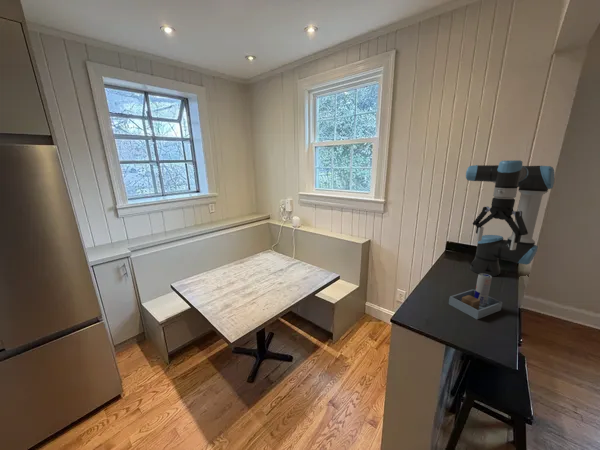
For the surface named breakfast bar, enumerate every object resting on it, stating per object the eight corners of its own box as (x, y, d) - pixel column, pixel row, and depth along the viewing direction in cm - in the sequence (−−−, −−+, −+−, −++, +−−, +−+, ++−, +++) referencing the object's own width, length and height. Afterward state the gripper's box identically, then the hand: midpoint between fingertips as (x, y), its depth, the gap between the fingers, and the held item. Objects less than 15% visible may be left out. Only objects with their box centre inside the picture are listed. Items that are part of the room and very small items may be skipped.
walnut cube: (460, 306, 114) (462, 297, 113) (467, 304, 116) (469, 294, 115) (471, 312, 110) (473, 302, 108) (478, 309, 112) (480, 300, 110)
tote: (471, 296, 124) (472, 289, 123) (500, 310, 112) (502, 302, 111) (448, 304, 117) (449, 296, 116) (477, 319, 106) (478, 311, 105)
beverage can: (482, 301, 118) (488, 273, 115) (488, 307, 113) (494, 278, 110) (471, 300, 119) (476, 272, 116) (476, 306, 114) (481, 277, 111)
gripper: (468, 195, 113) (461, 238, 118) (535, 202, 91) (523, 255, 96) (478, 194, 116) (471, 236, 121) (546, 200, 94) (534, 252, 99)
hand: (494, 245), depth 109 cm, fingers open, 13 cm apart
